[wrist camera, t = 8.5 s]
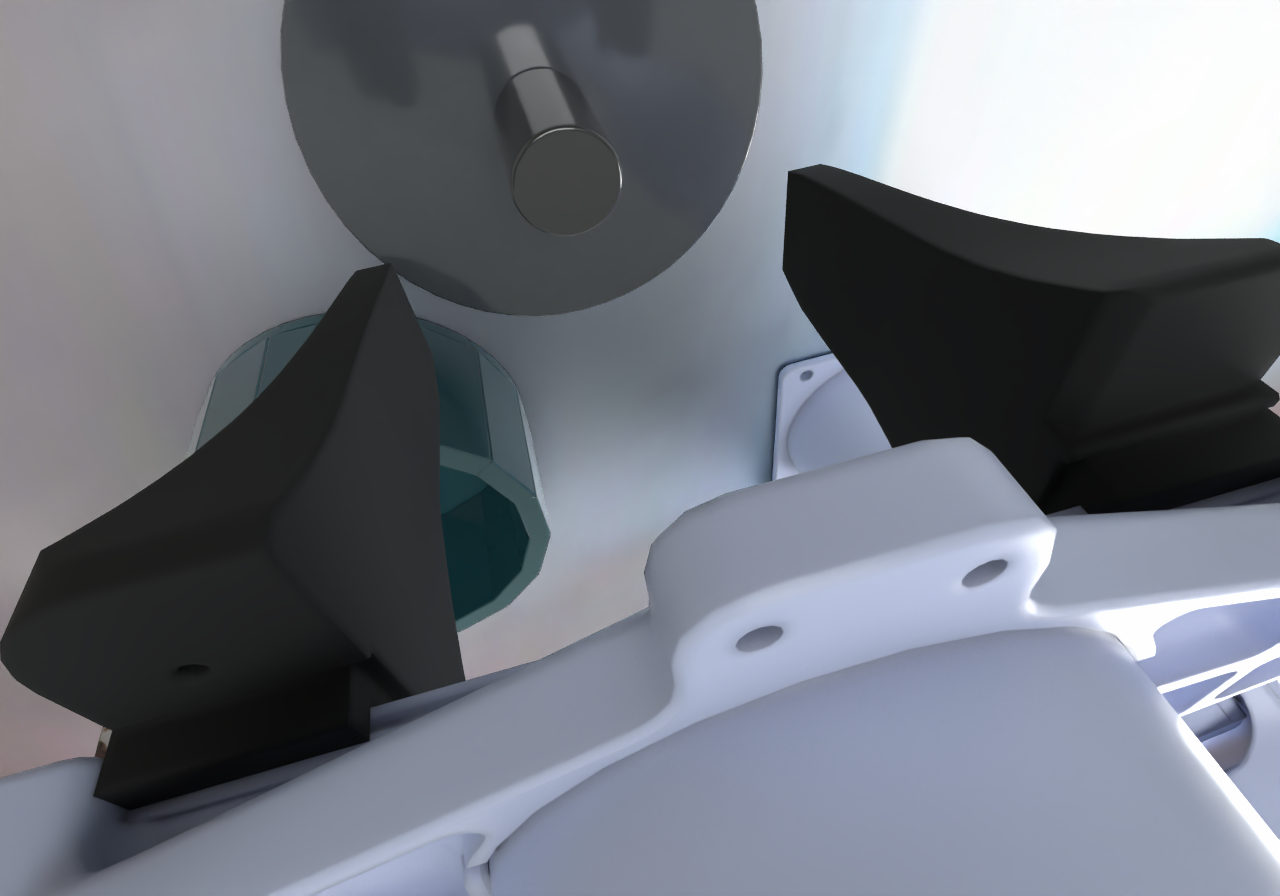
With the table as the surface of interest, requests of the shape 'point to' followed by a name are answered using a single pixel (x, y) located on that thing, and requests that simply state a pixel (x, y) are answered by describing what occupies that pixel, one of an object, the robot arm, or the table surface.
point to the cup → (469, 459)
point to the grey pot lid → (524, 136)
